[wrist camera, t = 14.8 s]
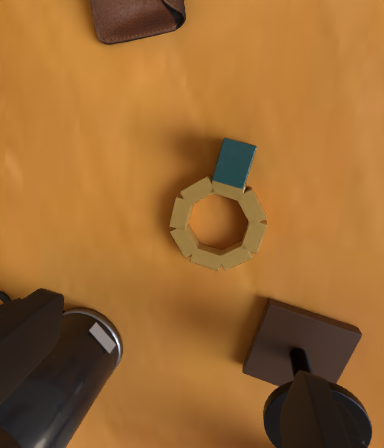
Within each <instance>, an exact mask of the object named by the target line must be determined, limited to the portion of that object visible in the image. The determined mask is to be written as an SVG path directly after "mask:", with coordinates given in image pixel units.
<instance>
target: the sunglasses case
mask: <svg viewBox="0 0 384 448" xmlns="http://www.w3.org/2000/svg"><path fill="white" fill-rule="evenodd" d="M90 3H91V9H92V16H93V19H94V25H95V29H96V32H97V36H98V39H99V41H100V42H102V43H105V44H116V43H122V42H128V41H132V40H137V39H142V38H146V37H151V36H155V35H160V34H164V33H168V32H172V31H175V30H177V29H178V28H179V27H181V26H182V25H183V23H184V22H185V20H186V14H185V6H184V0H90Z"/></svg>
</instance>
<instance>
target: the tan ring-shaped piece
mask: <svg viewBox="0 0 384 448" xmlns="http://www.w3.org/2000/svg"><path fill="white" fill-rule="evenodd" d="M256 148H257V147H256V146H254V145H250V144H246V143H243V142H239V141H235V140H232V139H228V138H224V139H223V142H222V146H221V149H220V153H219V157H218V160H217V164H216V167H215V171H214V174H213V178H211V176H210V175H208V176H206V177H205V178H203V179H201V180H199V181H198V182H196V183H194V184H192V185H191V186H189V187H187V188H185V189H184V190H182V191H180V193H181V195H179V196H177V197H176V199H175V203H174V207H173V211H172V215H171V219H170V223H169V226H170V227H174V228H173V229H172V230H171V231H170V233H171V235H172V237H173V238H174V240H175V242H176V243H177V245H178V247H179V249H180V250H181V252H182V254H183V255H184V257H187V256H190V255H191V258H190V262H193V263H196V264H199V265H202V266H205V267H208V268H211V269H214V270H217V271H219V268H220V265H222V267H223V269H224V270H227V269H230V268H232V267H234V266H236V265H239V264H241V263H243V262H245V261H248V260H250V259H252V253H255V254H257V252H258V249H259V247H260V244H261V241H262V238H263V236H264V233H265V230H266V227H267V222H266V220H264V219H266V218H267V217H266V213H265V211H264V209H263V208H262V206H261V204H260V202H259V200H258V198H257V196H256V194H255V192H254V191H253V189H252V187H250V188H248V189H246V190H245V187H246V183H245V182H246V179H247V176H248V173H249V170H250V167H251V163H252V160H253V157H254V154H255V151H256ZM211 194H217V195H220V196H223V197H227V198H230V199H233V200H237V201H238V203H239V205H240V207H241V209H242V210H243V212H244V214H245V216H246V218H247V220H248V224H247V227H246V230H245V233H244V236H243V239H242V241H240V242H238V243H236V244H234V245H232V246H230V247H227V248H225V249H223V250H219V249H216V248H213V247H210V246H206V245H203V244H200V243H199V241H198V240H197V238H196V236H195V234H194V233H193V231H192V229H191V227H190V226H189V224H188V223H189V220H190V216H191V212H192V209H193V205H194V203H196V202H198V201H200V200H201V199H203V198H205V197H207V196H209V195H211Z"/></svg>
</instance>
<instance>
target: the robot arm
mask: <svg viewBox="0 0 384 448" xmlns="http://www.w3.org/2000/svg"><path fill="white" fill-rule="evenodd" d="M0 299H1V300H2V301H3V302H4V304H1V305H0V448H66V446H67V445H68V443H69V441H70V440H71V438H72V437H73V435H74V433H75V432H76V430H77V428H78V427H79V425H80V424H81V422H82V420H83V419H84V417H85V416H86V414H87V412H88V411H89V409H90V407H91V406H92V404H93V403H94V401H95V399H96V398H97V396H98V394H99V393H100V391H101V390H102V388H103V386H104V385H105V383H106V381H107V380H108V378H109V377H110V376H111V374H112V373H113V371H114V370H115V368H116V367H117V365H118V364H119V362H120V360H121V358H122V354H123V344H122V340H121V337H120V335H119V333H118V331H117V329H116V328H115V326H114V325H113V324H112V323H111V322H110V321H109V320H108V319H107V318H105V317H104V316H103V315H101V314H99V313H97V312H95V311H93V310H90V309H85V308H75V309H70V310H68V311H63V306H64V296H63V295H62V294H59V293H56V292H53V291H50V290H46V289H43V288H40V289H37V290H36V291H34V292H33V293H31V294H30V295H28V296H27V297H26V298H24V299H21V298H18V299H15V300H12V301H11V300H10V298H9V297H8V296H7V295H6V294H5V293H3V292H2V291H0ZM280 432H281V439H282V447H283V448H367V446H365V441H364V438H363V436H362V434H361V431H360V429H359V426H358V424H357V422H356V420H355V419H354V418H353V416H352V415H351V414H350V412H349V411H348V410H347V408H346V407H345V406H344V404H343V403H342V402H339V401H336V400H334V397H333V394H332V391H331V389H330V386H329V383H328V381H327V380H326V379H325V378H324V377H321V376H317V375H314V374H311V373H308V372H305V371H301V370H299V371H298V372H297V373H296V375H295V378H294V380H293V382H292V385H291V387H290V389H289V392H288V394H287V396H286V399H285V401H284V403H283V406H282V409H281V414H280Z"/></svg>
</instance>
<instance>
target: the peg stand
mask: <svg viewBox="0 0 384 448" xmlns="http://www.w3.org/2000/svg"><path fill="white" fill-rule="evenodd" d="M361 337H362V333H361V332H360V330H359V328H358V327H355V326H352V325H349V324H346V323H343V322H340V321H337V320H333V319H330V318H327V317H324V316H321V315H318V314H315V313H312V312H309V311H306V310H303V309H300V308H297V307H294V306H291V305H288V304H285V303H282V302H279V301H276V300H273V299H270V298H269V300H268V302H267V305H266V307H265V310H264V312H263V315H262V317H261V320H260V322H259V325H258V328H257V330H256V333H255V335H254V338H253V340H252V343H251V345H250V348H249V351H248V353H247V356H246V358H245V361H244V363H243V373H244V374H247V375H250V376H253V377H255V378H258V379H261V380H263V381H266V382H269V383H272V384H274V385H277V386H280V387H278V388H277V389H275V390H274V391H273V392H272V393H271V394H270V396H269V397H268V399H267V400H266V403H265V405H264V410H263V419H264V428H265V431H266V434H267V436H268V438H269V440H270V441H271V442H272V444H273V445H274V446H275V447H276V448H283V447H282V439H281V432H280V414H281V409H282V406H283V403H284V401H285V399H286V396H287V394H288V392H289V389H290V387H291V385H292V382H293V380H294V378H295V375H296V373H297V372H298V371H299V370H301V371H305V372H308V373H311V374H314V375H317V376H321V377H324V378H325V379H326V380H327V381H328V383H329V386H330V389H331V391H332V394H333V397H334V400H336V401H339V402H342V403H343V404H344V406H345V407H346V408H347V410H348V411H349V412H350V414H351V415H352V416H353V418H354V419H355V420H356V422H357V424H358V426H359V429H360V431H361V434H362V436H363V438H364V441H365V446H367V448H368V446H369V444H370V441H371V438H372V426H371V422H370V419H369V417H368V415H367V413H366V410H365V408H364V406H363V405H362V403H361V402H360V401H359V400H358V398H357V397H355V396H354V395H353V394H352V393H351V392H349V391H348V390H347V389H345V388H343V387H341V386H339V385H337V384H336V383H337V381H338V379H339V377H340V376H341V374H342V372H343V370H344V368H345V366H346V364H347V363H348V361H349V359H350V357H351V355H352V353H353V352H354V350H355V348H356V346H357V344H358V342H359V340H360V339H361Z"/></svg>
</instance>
